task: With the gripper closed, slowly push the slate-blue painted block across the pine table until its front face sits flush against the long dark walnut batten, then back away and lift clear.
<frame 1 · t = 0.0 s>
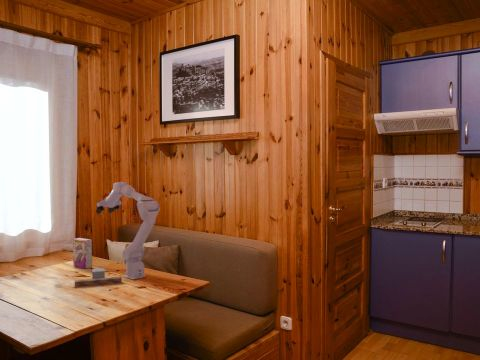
hand: (103, 212, 242), 32 cm above the table, tool tilted 50°, fingers open, 7 cm apart
slate block: (98, 279, 220), on the table
walnut batten: (98, 284, 211), on the table
candy bar box: (82, 267, 246), on the table
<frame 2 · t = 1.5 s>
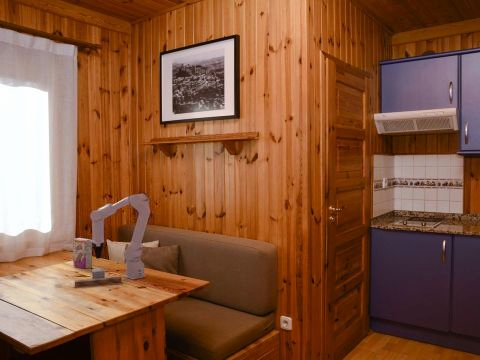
hand: (98, 257, 229), 9 cm above the table, tool pointing down, fingers open, 5 cm apart
nothing on the table moved.
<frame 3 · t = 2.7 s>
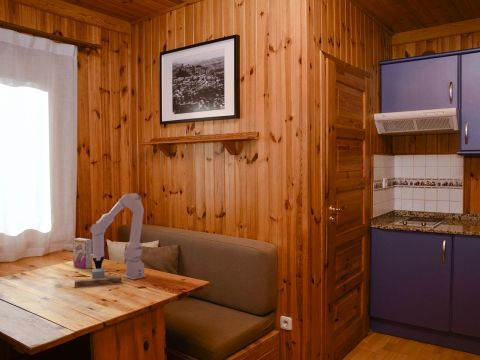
hand: (98, 271, 229), 2 cm above the table, tool pointing down, fingers closed
nothing on the table moved.
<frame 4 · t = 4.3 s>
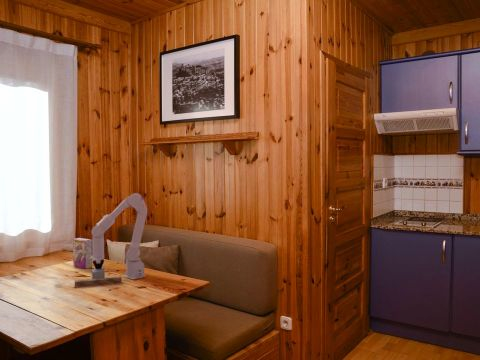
hand: (98, 274, 223), 2 cm above the table, tool pointing down, fingers closed
slate block: (98, 279, 219), on the table, touching gripper
everything else where it was.
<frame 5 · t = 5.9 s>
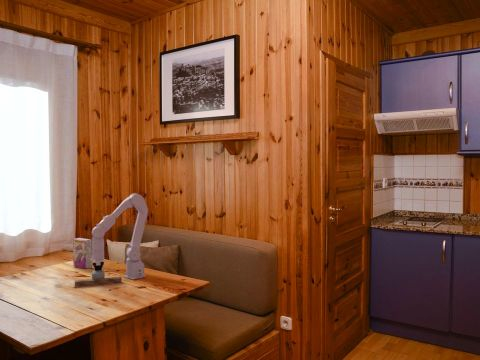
hand: (98, 276, 218), 2 cm above the table, tool pointing down, fingers closed, pressing on slate block
slate block: (98, 281, 215), on the table, touching gripper, walnut batten
everything else where it was.
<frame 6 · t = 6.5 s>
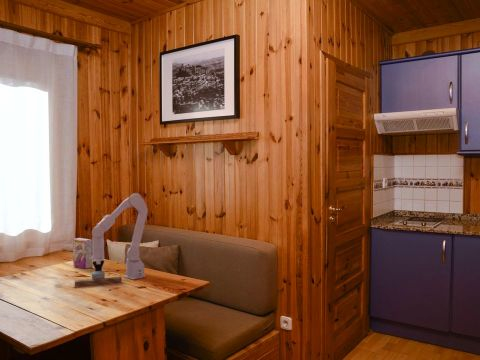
hand: (98, 275, 221), 2 cm above the table, tool pointing down, fingers closed
slate block: (98, 282, 215), on the table
everything else where it was.
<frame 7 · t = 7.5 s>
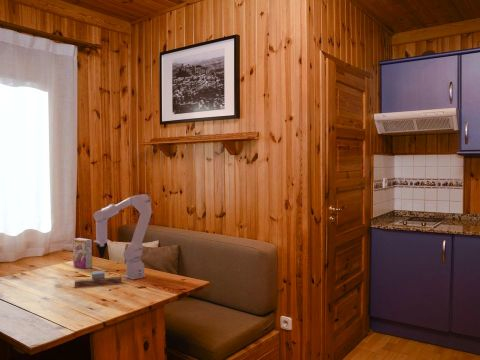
hand: (101, 257, 230), 9 cm above the table, tool pointing down, fingers closed
nothing on the table moved.
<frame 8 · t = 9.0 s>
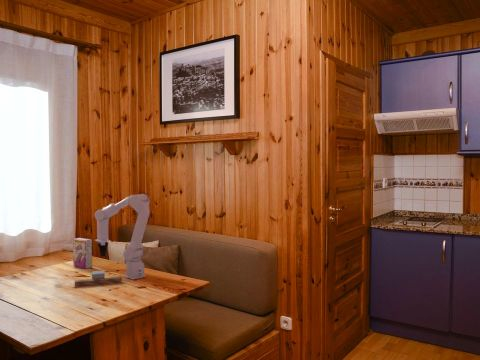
hand: (103, 256, 232), 9 cm above the table, tool pointing down, fingers closed
nothing on the table moved.
at the end: slate block 4.5 cm from the walnut batten (horizontally); slate block 0.3 cm from the target spot on the table beside the walnut batten, on the table; slate block tilted 0° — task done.
